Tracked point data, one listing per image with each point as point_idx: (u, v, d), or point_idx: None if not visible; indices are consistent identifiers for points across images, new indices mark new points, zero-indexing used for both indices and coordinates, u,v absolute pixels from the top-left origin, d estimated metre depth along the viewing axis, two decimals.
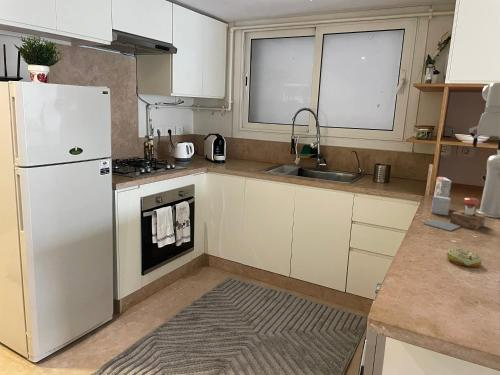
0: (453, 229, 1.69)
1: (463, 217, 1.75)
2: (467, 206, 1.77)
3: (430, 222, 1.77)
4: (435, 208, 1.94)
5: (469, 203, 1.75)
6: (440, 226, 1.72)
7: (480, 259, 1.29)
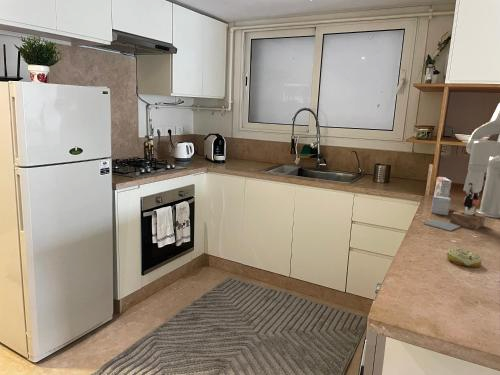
0: (453, 229, 1.69)
1: (463, 217, 1.75)
2: None
3: (430, 222, 1.77)
4: (435, 208, 1.94)
5: None
6: (440, 226, 1.72)
7: (480, 259, 1.29)
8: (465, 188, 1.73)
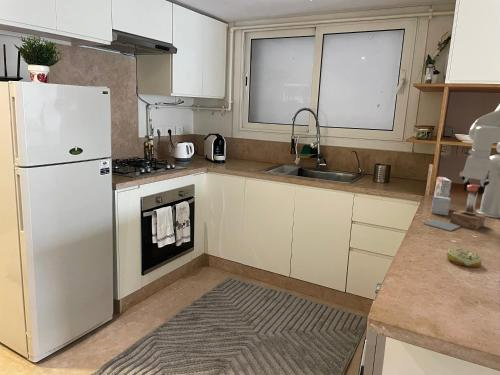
0: (453, 229, 1.69)
1: (463, 217, 1.75)
2: (475, 194, 1.75)
3: (430, 222, 1.77)
4: (435, 208, 1.94)
5: None
6: (440, 226, 1.72)
7: (480, 259, 1.29)
8: (485, 177, 1.69)
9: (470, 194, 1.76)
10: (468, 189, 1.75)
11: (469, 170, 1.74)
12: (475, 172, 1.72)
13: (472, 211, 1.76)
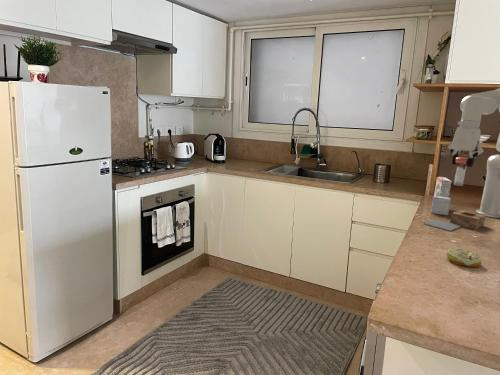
0: (453, 229, 1.69)
1: (463, 217, 1.75)
2: (464, 166, 1.69)
3: (430, 222, 1.77)
4: (435, 208, 1.94)
5: None
6: (440, 226, 1.72)
7: (480, 259, 1.29)
8: (475, 147, 1.63)
9: (459, 166, 1.70)
10: (457, 161, 1.69)
11: (458, 141, 1.68)
12: (464, 143, 1.66)
13: (460, 184, 1.70)
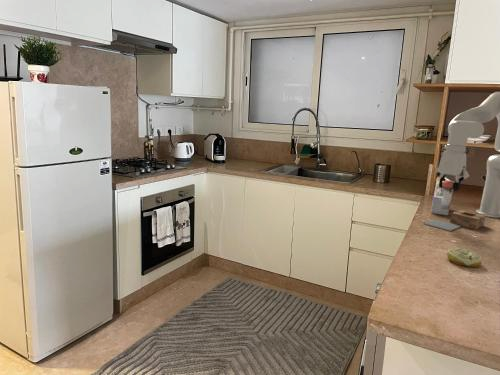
0: (453, 229, 1.69)
1: (463, 217, 1.75)
2: (451, 190, 1.70)
3: (430, 222, 1.77)
4: (435, 208, 1.94)
5: None
6: (440, 226, 1.72)
7: (480, 259, 1.29)
8: (460, 172, 1.64)
9: (445, 190, 1.71)
10: (443, 185, 1.70)
11: (444, 165, 1.69)
12: (450, 167, 1.67)
13: (447, 208, 1.71)
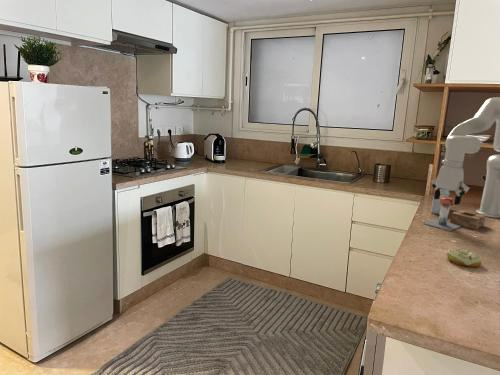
0: (453, 229, 1.69)
1: (463, 217, 1.75)
2: (448, 206, 1.71)
3: (430, 222, 1.77)
4: (435, 208, 1.94)
5: (453, 203, 1.70)
6: (440, 226, 1.72)
7: (480, 259, 1.29)
8: (458, 187, 1.66)
9: (442, 207, 1.72)
10: (440, 202, 1.72)
11: (442, 180, 1.71)
12: (447, 182, 1.69)
13: (444, 224, 1.73)
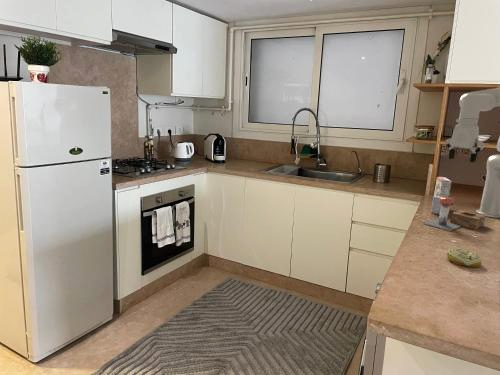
0: (453, 229, 1.69)
1: (463, 217, 1.75)
2: (448, 206, 1.71)
3: (430, 222, 1.77)
4: (435, 208, 1.94)
5: (453, 203, 1.70)
6: (440, 226, 1.72)
7: (480, 259, 1.29)
8: (473, 145, 1.66)
9: (442, 207, 1.72)
10: (440, 202, 1.72)
11: (457, 139, 1.71)
12: (463, 140, 1.69)
13: (444, 224, 1.73)
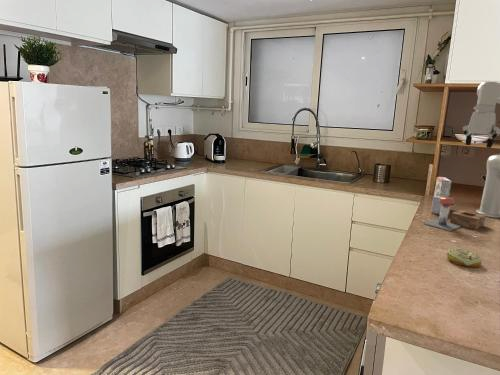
0: (453, 229, 1.69)
1: (463, 217, 1.75)
2: (448, 206, 1.71)
3: (430, 222, 1.77)
4: (435, 208, 1.94)
5: (453, 203, 1.70)
6: (440, 226, 1.72)
7: (480, 259, 1.29)
8: (490, 130, 1.73)
9: (443, 207, 1.72)
10: (440, 202, 1.72)
11: (474, 125, 1.78)
12: (480, 127, 1.75)
13: (444, 224, 1.73)
